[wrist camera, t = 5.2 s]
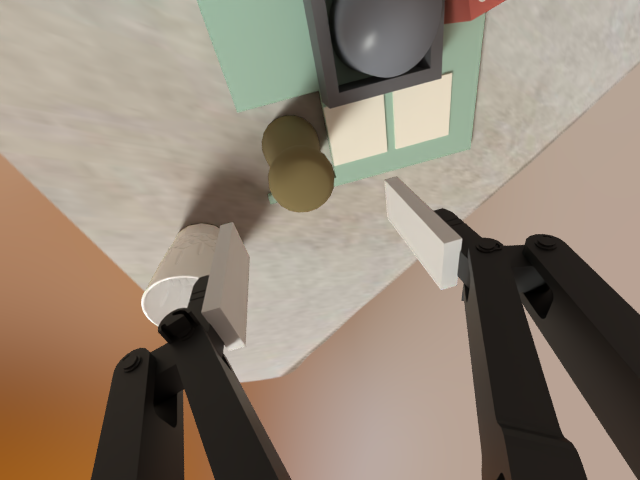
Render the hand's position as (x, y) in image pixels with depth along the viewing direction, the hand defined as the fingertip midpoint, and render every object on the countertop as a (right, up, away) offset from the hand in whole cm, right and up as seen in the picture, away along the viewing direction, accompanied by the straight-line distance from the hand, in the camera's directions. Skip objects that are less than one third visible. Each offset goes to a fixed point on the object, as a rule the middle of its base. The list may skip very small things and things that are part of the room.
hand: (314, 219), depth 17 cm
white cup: (-14, -2, +18) cm, 23 cm away
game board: (+4, +14, +10) cm, 18 cm away
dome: (+4, +17, +6) cm, 18 cm away
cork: (-3, +9, +13) cm, 16 cm away
